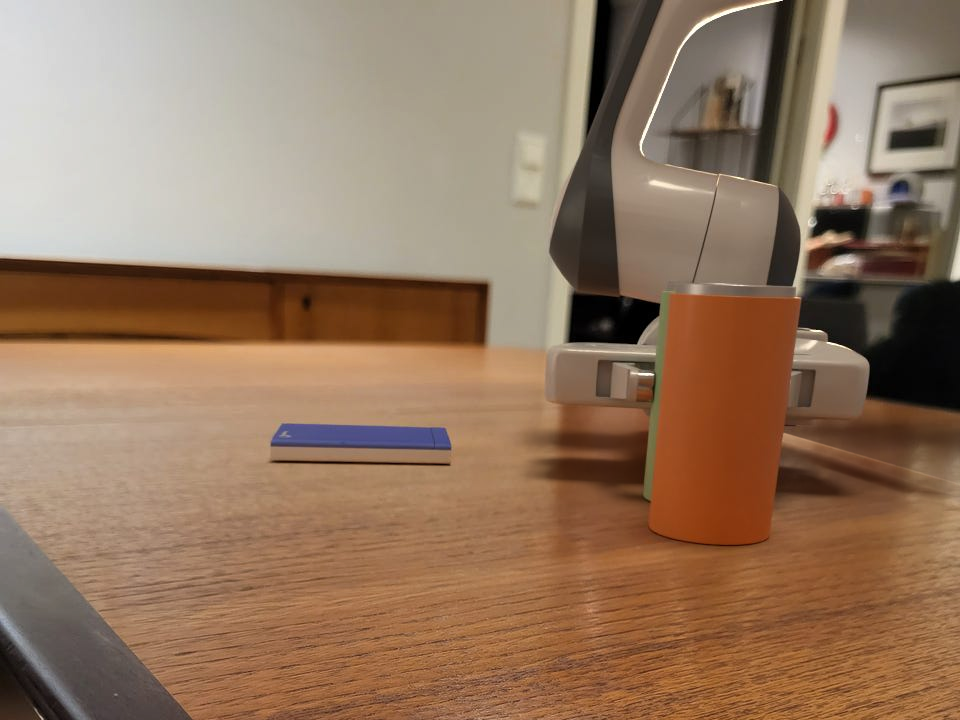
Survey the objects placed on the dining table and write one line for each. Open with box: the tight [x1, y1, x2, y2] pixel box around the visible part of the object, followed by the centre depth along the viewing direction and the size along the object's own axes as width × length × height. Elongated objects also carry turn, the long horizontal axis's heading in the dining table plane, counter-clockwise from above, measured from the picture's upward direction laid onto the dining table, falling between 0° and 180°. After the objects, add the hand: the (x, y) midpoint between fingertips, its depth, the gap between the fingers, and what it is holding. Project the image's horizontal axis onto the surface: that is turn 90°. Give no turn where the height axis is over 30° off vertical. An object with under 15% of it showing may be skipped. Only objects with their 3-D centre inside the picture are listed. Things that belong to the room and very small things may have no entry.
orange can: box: [648, 283, 802, 546], centre depth 52 cm, size 6×6×12 cm
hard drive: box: [269, 422, 452, 465], centre depth 73 cm, size 2×8×12 cm
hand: (709, 390), depth 58 cm, fingers closed on green can, 6 cm apart
